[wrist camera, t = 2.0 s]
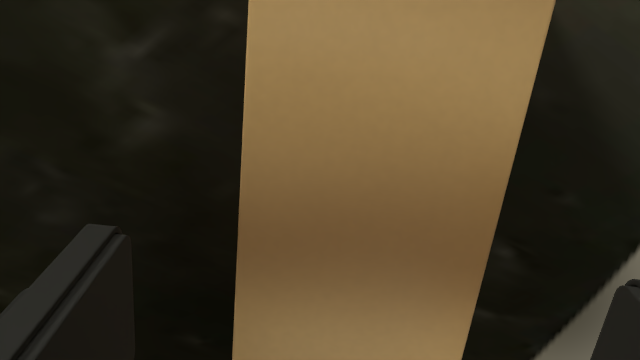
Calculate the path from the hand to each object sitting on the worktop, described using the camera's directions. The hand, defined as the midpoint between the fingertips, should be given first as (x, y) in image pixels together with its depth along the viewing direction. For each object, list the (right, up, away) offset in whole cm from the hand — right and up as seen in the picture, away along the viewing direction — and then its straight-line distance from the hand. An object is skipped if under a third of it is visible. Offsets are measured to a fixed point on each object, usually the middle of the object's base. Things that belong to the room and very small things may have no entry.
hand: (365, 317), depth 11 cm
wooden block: (0, +3, +6) cm, 7 cm away
